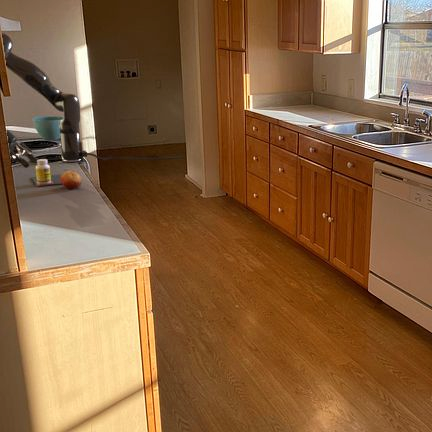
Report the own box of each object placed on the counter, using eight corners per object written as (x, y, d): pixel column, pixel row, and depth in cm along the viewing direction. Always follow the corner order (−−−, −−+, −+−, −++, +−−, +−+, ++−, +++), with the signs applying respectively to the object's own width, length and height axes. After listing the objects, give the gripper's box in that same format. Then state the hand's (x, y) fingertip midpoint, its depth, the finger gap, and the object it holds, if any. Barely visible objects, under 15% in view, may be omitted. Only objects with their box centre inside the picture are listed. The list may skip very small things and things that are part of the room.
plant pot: (33, 137, 341) (31, 116, 338) (65, 135, 350) (63, 115, 346) (36, 142, 326) (34, 121, 322) (69, 140, 335) (68, 119, 331)
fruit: (68, 180, 242) (74, 166, 238) (81, 192, 240) (86, 177, 236) (53, 184, 235) (58, 170, 231) (66, 196, 233) (72, 181, 230)
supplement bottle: (46, 184, 238) (44, 161, 235) (34, 183, 239) (32, 161, 236) (53, 181, 243) (51, 159, 240) (42, 180, 244) (39, 158, 241)
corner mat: (69, 174, 258) (69, 173, 258) (77, 182, 245) (77, 181, 245) (31, 178, 250) (31, 177, 250) (37, 186, 237) (37, 185, 237)
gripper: (-1, 133, 227) (31, 161, 231) (14, 127, 241) (44, 154, 245) (-13, 146, 229) (19, 174, 233) (3, 139, 242) (33, 166, 246)
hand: (32, 164), depth 239 cm, fingers open, 8 cm apart
